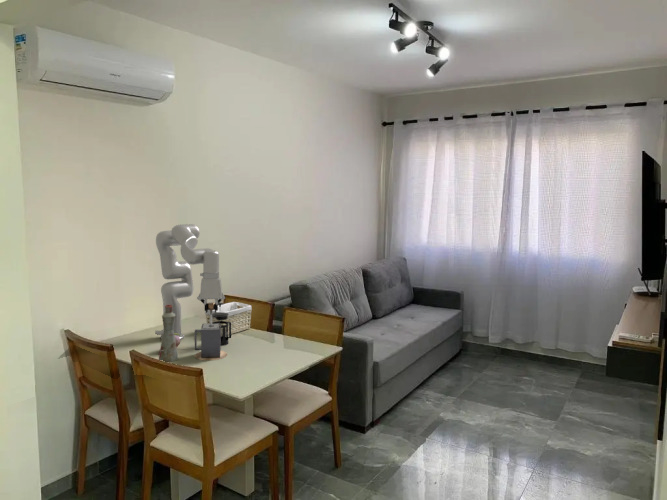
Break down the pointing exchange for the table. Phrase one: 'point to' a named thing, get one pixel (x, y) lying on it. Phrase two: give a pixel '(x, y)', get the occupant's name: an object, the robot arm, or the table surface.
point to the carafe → (209, 340)
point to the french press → (225, 327)
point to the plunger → (211, 311)
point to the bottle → (168, 337)
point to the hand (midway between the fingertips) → (211, 311)
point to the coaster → (222, 355)
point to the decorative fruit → (177, 339)
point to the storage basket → (234, 316)
